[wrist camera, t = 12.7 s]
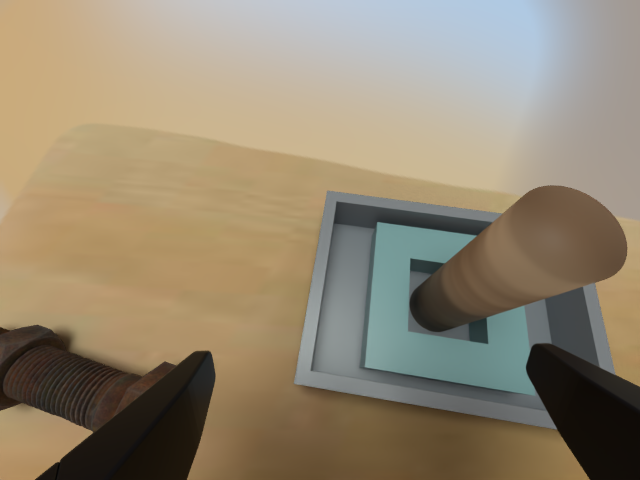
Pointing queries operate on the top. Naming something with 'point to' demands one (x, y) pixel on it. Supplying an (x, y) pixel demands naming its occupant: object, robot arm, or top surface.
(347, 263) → the rim box
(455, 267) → the peg
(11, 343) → the bolt
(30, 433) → the top surface
